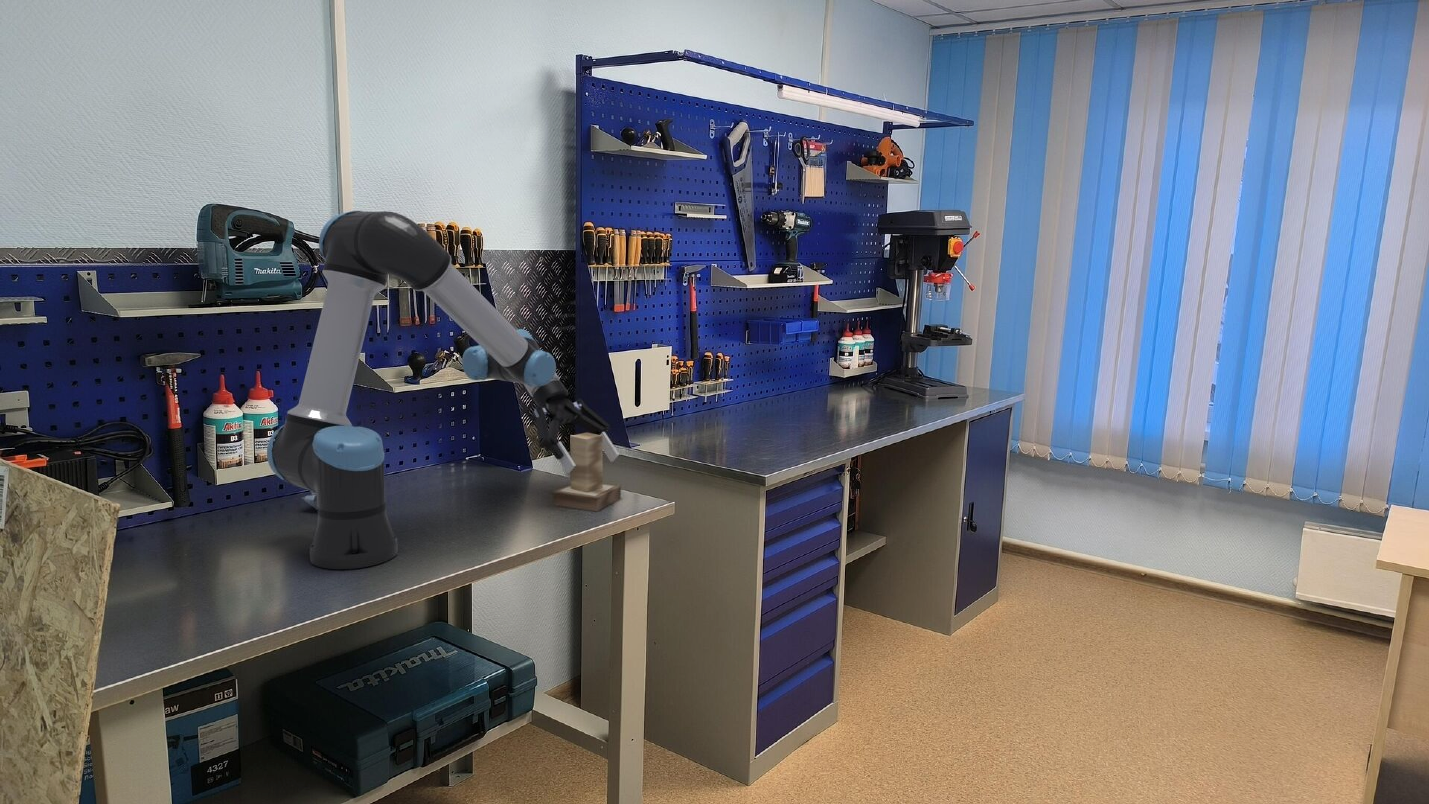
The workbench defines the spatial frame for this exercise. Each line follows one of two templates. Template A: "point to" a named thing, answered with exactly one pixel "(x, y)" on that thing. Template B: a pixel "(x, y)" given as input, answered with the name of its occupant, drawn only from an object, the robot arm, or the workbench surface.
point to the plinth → (587, 497)
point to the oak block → (587, 462)
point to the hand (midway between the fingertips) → (594, 463)
